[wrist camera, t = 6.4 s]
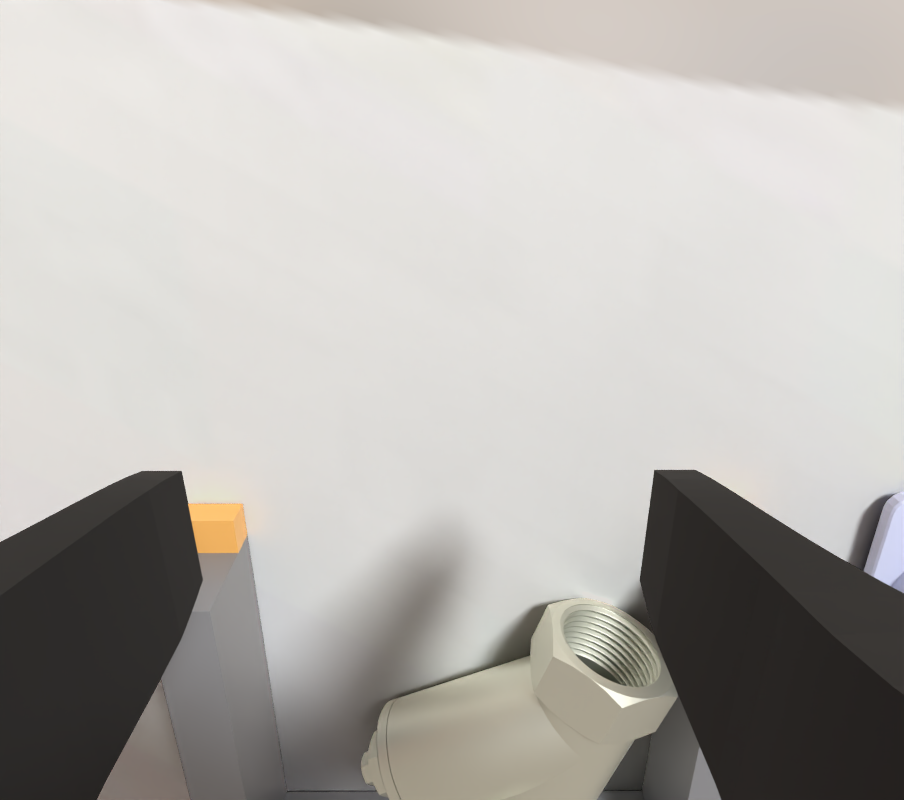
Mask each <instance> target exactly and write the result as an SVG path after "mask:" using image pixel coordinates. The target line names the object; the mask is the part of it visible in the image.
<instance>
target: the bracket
mask: <svg viewBox="0 0 904 800" xmlns="http://www.w3.org/2000/svg"><path fill="white" fill-rule="evenodd" d="M188 506H189V511H190V516H191V521H192V526H193V531H194V537H195V542H196V547H197V552H198V557H199V562H200V567H201V572H202V577H203V582H202V584H201V587H200V590H199V593H198V596H197V599H196V602H195V605H194V607H193V610H192V613H191V616H190V618H189V621H188V623H187V626H186V629H185V631H184V634H183V636H182V639H181V641H180V643H179V645H178V647H177V649H176V651H175V653H174V655H173V656H172V658H171V660H170V662H169V664H168V666H167V668H166V670H165V672H164V674H163V675H162V677H161V680H162V684H163V688H164V692H165V697H166V701H167V705H168V709H169V713H170V717H171V721H172V725H173V729H174V734H175V738H176V742H177V746H178V750H179V754H180V758H181V762H182V766H183V771H184V775H185V779H186V783H187V787H188V791H189V795H190V799H191V800H389V798H388V797H383V796H381V795H379V794H378V792H377V791H370V792H287V790H286V784H285V777H284V771H283V764H282V758H281V751H280V745H279V738H278V732H277V725H276V719H275V712H274V706H273V699H272V693H271V686H270V680H269V673H268V667H267V660H266V654H265V647H264V641H263V634H262V628H261V621H260V614H259V608H258V601H257V595H256V588H255V582H254V575H253V569H252V562H251V556H250V549H249V543H248V536H247V530H246V523H245V517H244V510H243V504H188ZM677 694H678V693H677ZM597 800H721V798H720V795H719V792H718V790H717V787H716V784H715V782H714V779H713V777H712V774H711V772H710V770H709V767H708V765H707V763H706V760H705V758H704V755H703V753H702V751H701V748H700V746H699V743H698V741H697V739H696V736H695V734H694V731H693V729H692V727H691V724H690V722H689V719H688V717H687V715H686V712H685V710H684V708H683V705H682V703H681V700H680V698H679V696H678V697H677V699H676V701H675V702H674V704H673V705H672V707H671V708H670V710H669V711H668V713H667V714H666V716H665V718H664V719H663V721H662V722H661V724H660V725H659V727H658V728H657V730H656V732H653V733H652V734H651V740H650V746H649V752H648V758H647V764H646V769H645V775H644V781H643V787H642V791H602V792H601V794H600V796H599V797H598V799H597Z"/></svg>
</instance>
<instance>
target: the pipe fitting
mask: <svg viewBox="0 0 904 800" xmlns="http://www.w3.org/2000/svg"><path fill="white" fill-rule="evenodd" d="M677 697H678V694H677V691H676V688H675V686H674V684H673V681H672V679H671V676H670V674H669V671H668V669H667V666H666V664H665V662H664V659H663V657H662V654H661V652H660V649H659V647H658V644H657V642H656V639H655V635H654V634H653V633H652V632H650V631H649V630H648V629H647V628H646V627H645V626H644V625H642V624H641V623H640V622H639V621H637V620H636V619H635V618H633V617H632V616H630V615H629V614H627V613H625V612H624V611H622V610H620V609H618V608H616V607H614V606H612V605H609V604H607V603H604V602H600V601H597V600H593V599H587V598H577V599H570V600H564V601H560V602H556V603H553V604H549V605H548V606H547V608H546V610H545V612H544V614H543V616H542V618H541V620H540V622H539V624H538V626H537V628H536V630H535V632H534V634H533V636H532V638H531V651H530V656H527V657H523V658H520V659H517V660H514V661H511V662H508V663H505V664H502V665H499V666H495V667H492V668H489V669H486V670H483V671H480V672H477V673H474V674H471V675H468V676H464V677H461V678H458V679H455V680H452V681H449V682H446V683H443V684H440V685H437V686H434V687H430V688H427V689H424V690H421V691H418V692H415V693H412V694H409V695H406V696H403V697H399V698H396V699H393V700H390V701H389V702H387V703H386V704H385V706H384V707H383V709H382V711H381V713H380V716H379V720H378V725H377V731H374V733H373V736H372V738H371V741H370V744H369V749H368V751H367V752H364V754H363V757H362V761H361V771H362V775H363V778H364V780H365V782H366V784H368V785H374V786H375V788H376V790H377V792H378V794H379V795H381V796H383V797H388V798H389V800H597V799H598V797H599V796H600V794H601V792H602V791H603V789H604V788H605V786H606V784H607V783H608V781H609V780H610V778H611V776H612V775H613V773H614V772H615V770H616V769H617V767H618V765H619V764H620V762H621V761H622V759H623V758H624V756H625V754H626V753H627V751H628V750H629V748H630V747H631V745H632V743H633V742H634V740H635V739H638V738H641V737H643V736H646V735H648V734H651V733H653V732H656V730H657V728H658V727H659V725H660V724H661V722H662V721H663V719H664V718H665V716H666V714H667V713H668V711H669V710H670V708H671V707H672V705H673V704H674V702H675V701H676V699H677Z"/></svg>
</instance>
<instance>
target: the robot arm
mask: <svg viewBox="0 0 904 800" xmlns="http://www.w3.org/2000/svg"><path fill="white" fill-rule="evenodd" d="M202 582H203V577H202V572H201V567H200V562H199V557H198V552H197V547H196V542H195V537H194V531H193V526H192V521H191V516H190V511H189V506H188V501H187V496H186V491H185V486H184V481H183V475H182V471H141V472H139V473H136V474H134V475H131V476H129V477H126V478H124V479H122V480H120V481H118V482H115V483H113V484H111V485H109V486H107V487H105V488H103V489H101V490H99V491H97V492H95V493H93V494H91V495H89V496H88V497H86V498H84V499H82V500H80V501H78V502H76V503H74V504H72V505H70V506H68V507H67V508H65V509H63V510H61V511H59V512H57V513H55V514H53V515H51V516H49V517H48V518H46V519H44V520H42V521H40V522H38V523H36V524H34V525H32V526H30V527H28V528H27V529H25V530H23V531H21V532H19V533H17V534H15V535H13V536H11V537H9V538H7V539H5V540H3V541H1V542H0V800H97V798H98V796H99V794H100V792H101V790H102V788H103V786H104V784H105V782H106V780H107V778H108V776H109V774H110V772H111V770H112V769H113V767H114V765H115V763H116V761H117V759H118V757H119V756H120V754H121V752H122V750H123V748H124V746H125V744H126V743H127V741H128V739H129V737H130V735H131V733H132V731H133V730H134V728H135V726H136V724H137V722H138V720H139V718H140V717H141V715H142V713H143V711H144V709H145V707H146V705H147V704H148V702H149V700H150V698H151V696H152V694H153V692H154V691H155V689H156V687H157V685H158V683H159V681H160V679H161V677H162V675H163V674H164V672H165V670H166V668H167V666H168V664H169V662H170V660H171V658H172V656H173V655H174V653H175V651H176V649H177V647H178V645H179V643H180V641H181V639H182V636H183V634H184V631H185V629H186V626H187V623H188V621H189V618H190V616H191V613H192V610H193V607H194V605H195V602H196V599H197V596H198V593H199V590H200V587H201V584H202ZM640 582H641V586H642V590H643V594H644V598H645V602H646V606H647V610H648V614H649V618H650V621H651V625H652V628H653V632H654V635H655V639H656V642H657V644H658V647H659V649H660V652H661V654H662V657H663V659H664V662H665V664H666V666H667V669H668V671H669V674H670V676H671V679H672V681H673V684H674V686H675V688H676V691H677V693H678V696H679V698H680V700H681V703H682V705H683V708H684V710H685V712H686V715H687V717H688V719H689V722H690V724H691V727H692V729H693V731H694V734H695V736H696V739H697V741H698V743H699V746H700V748H701V751H702V753H703V755H704V758H705V760H706V763H707V765H708V767H709V770H710V772H711V774H712V777H713V779H714V782H715V784H716V787H717V790H718V792H719V795H720V798H721V800H904V492H899V493H897V494H895V495H893V496H892V497H891V498H890V499H888V500H887V502H886V503H885V505H884V507H883V510H882V513H881V516H880V520H879V523H878V526H877V529H876V533H875V536H874V539H873V542H872V545H871V549H870V552H869V555H868V558H867V562H866V565H865V568H864V571H862V570H860V569H859V568H857V567H855V566H853V565H851V564H850V563H848V562H846V561H844V560H842V559H841V558H839V557H837V556H835V555H834V554H832V553H830V552H829V551H827V550H825V549H824V548H822V547H820V546H819V545H817V544H815V543H814V542H812V541H810V540H809V539H807V538H805V537H804V536H802V535H800V534H799V533H797V532H796V531H794V530H792V529H791V528H789V527H788V526H786V525H784V524H783V523H781V522H780V521H778V520H776V519H775V518H773V517H772V516H770V515H769V514H767V513H765V512H764V511H762V510H761V509H759V508H758V507H756V506H754V505H753V504H751V503H750V502H748V501H747V500H745V499H743V498H742V497H740V496H739V495H737V494H736V493H734V492H732V491H731V490H729V489H728V488H726V487H724V486H723V485H721V484H720V483H718V482H716V481H715V480H713V479H711V478H709V477H708V476H706V475H704V474H702V473H700V472H698V471H696V470H654V478H653V485H652V493H651V500H650V508H649V515H648V523H647V530H646V537H645V545H644V552H643V560H642V567H641V575H640Z"/></svg>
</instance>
